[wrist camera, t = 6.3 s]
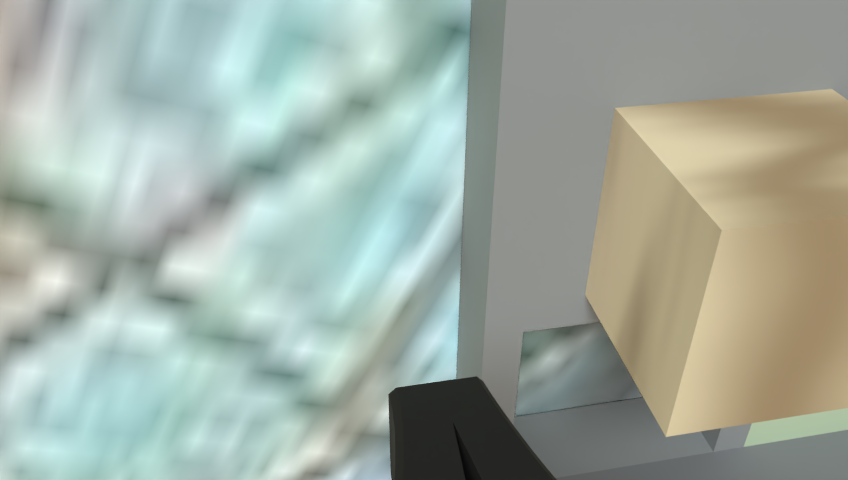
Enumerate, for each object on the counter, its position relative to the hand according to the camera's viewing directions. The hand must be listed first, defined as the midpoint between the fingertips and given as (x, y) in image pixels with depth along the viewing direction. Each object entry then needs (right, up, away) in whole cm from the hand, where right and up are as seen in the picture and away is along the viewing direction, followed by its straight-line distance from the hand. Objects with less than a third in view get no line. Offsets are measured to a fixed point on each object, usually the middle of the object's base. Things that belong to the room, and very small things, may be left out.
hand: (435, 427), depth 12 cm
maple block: (+6, +4, +6) cm, 10 cm away
